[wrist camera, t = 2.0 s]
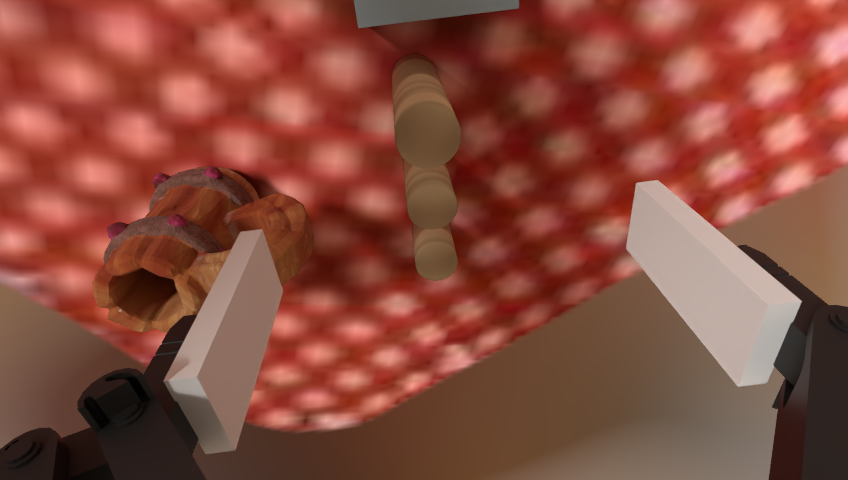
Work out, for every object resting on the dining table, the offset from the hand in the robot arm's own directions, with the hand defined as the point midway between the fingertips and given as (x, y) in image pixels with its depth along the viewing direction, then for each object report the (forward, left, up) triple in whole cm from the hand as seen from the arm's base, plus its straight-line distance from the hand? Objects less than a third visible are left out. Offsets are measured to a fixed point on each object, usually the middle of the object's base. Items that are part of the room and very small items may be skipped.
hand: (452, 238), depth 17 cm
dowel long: (0, 0, -24) cm, 24 cm away
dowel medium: (+7, 0, -24) cm, 25 cm away
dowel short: (+14, 0, -24) cm, 28 cm away
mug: (+8, -16, -24) cm, 30 cm away
